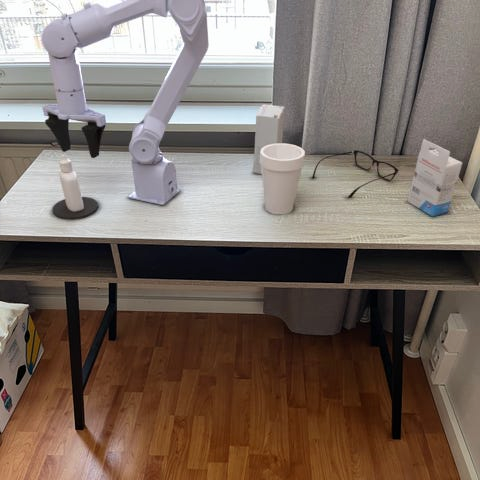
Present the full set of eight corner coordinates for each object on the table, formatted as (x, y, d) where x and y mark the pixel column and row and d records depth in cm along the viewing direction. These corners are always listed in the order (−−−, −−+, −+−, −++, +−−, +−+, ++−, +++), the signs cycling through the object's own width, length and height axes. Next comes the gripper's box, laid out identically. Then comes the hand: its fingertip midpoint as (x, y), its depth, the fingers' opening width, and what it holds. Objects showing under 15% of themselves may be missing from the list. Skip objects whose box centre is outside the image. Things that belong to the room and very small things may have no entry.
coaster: (107, 203, 115) (106, 201, 115) (80, 223, 108) (79, 221, 108) (71, 195, 118) (71, 193, 118) (43, 214, 111) (42, 212, 111)
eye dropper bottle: (87, 200, 115) (76, 149, 107) (82, 212, 110) (71, 160, 103) (68, 201, 115) (55, 149, 107) (62, 213, 110) (49, 160, 103)
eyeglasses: (399, 184, 123) (403, 169, 121) (353, 201, 116) (356, 185, 114) (352, 162, 133) (354, 147, 131) (307, 176, 127) (308, 160, 124)
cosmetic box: (259, 161, 134) (261, 103, 124) (281, 163, 133) (285, 105, 123) (253, 174, 127) (254, 114, 118) (276, 176, 126) (279, 116, 117)
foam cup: (271, 221, 109) (274, 163, 100) (251, 203, 115) (252, 148, 107) (307, 211, 112) (313, 155, 104) (286, 195, 118) (290, 140, 110)
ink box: (449, 212, 112) (468, 148, 103) (432, 217, 110) (450, 152, 101) (423, 197, 118) (439, 134, 109) (406, 201, 116) (421, 138, 107)
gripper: (27, 88, 101) (42, 153, 110) (87, 98, 97) (97, 165, 106) (50, 79, 106) (62, 142, 115) (107, 89, 102) (116, 154, 111)
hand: (80, 153), depth 111 cm, fingers open, 7 cm apart
